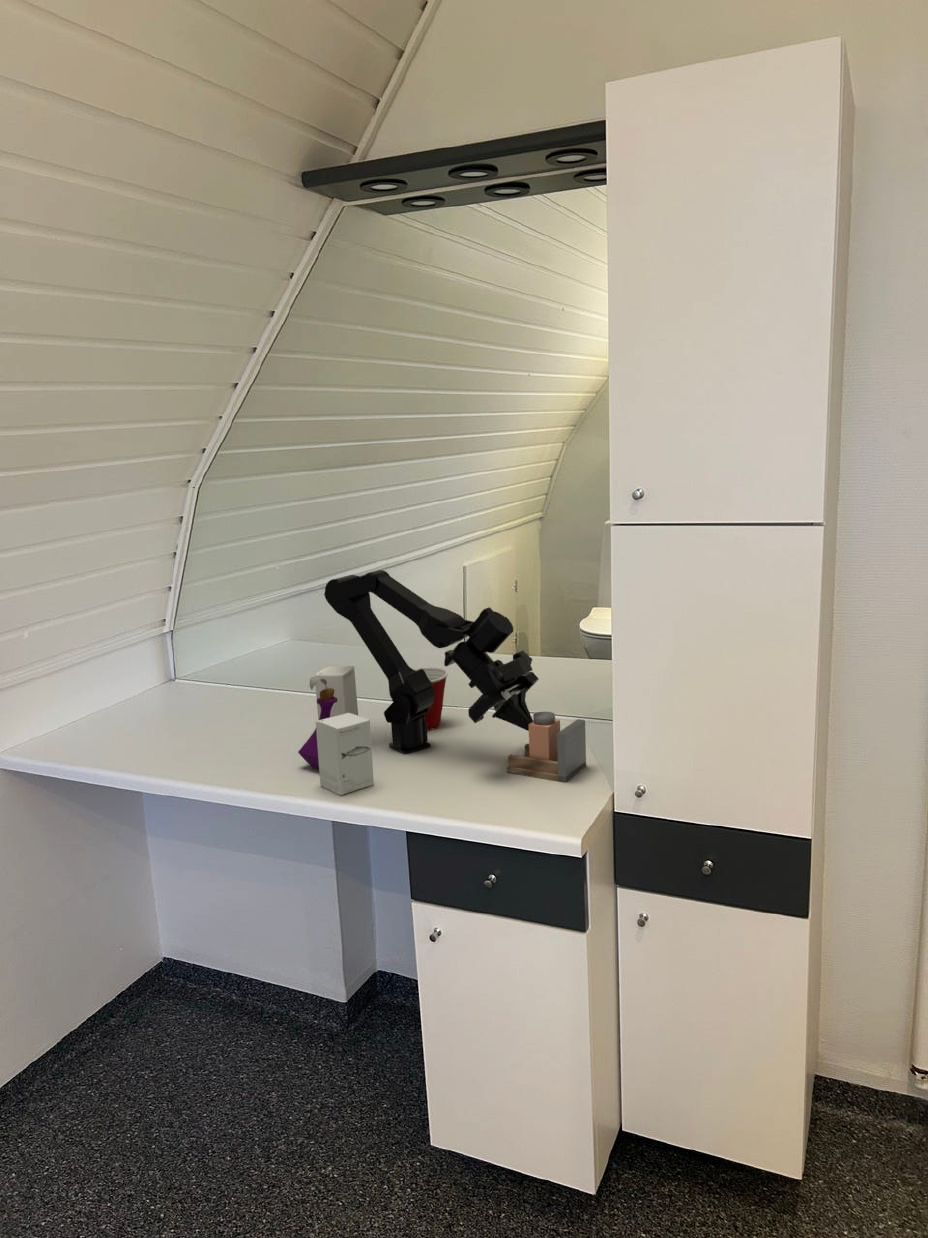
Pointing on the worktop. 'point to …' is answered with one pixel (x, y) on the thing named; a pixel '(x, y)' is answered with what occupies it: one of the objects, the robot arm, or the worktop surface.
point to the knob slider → (544, 736)
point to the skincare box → (339, 689)
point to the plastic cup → (438, 680)
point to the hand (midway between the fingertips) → (533, 730)
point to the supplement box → (344, 753)
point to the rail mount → (568, 752)
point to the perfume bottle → (326, 703)
